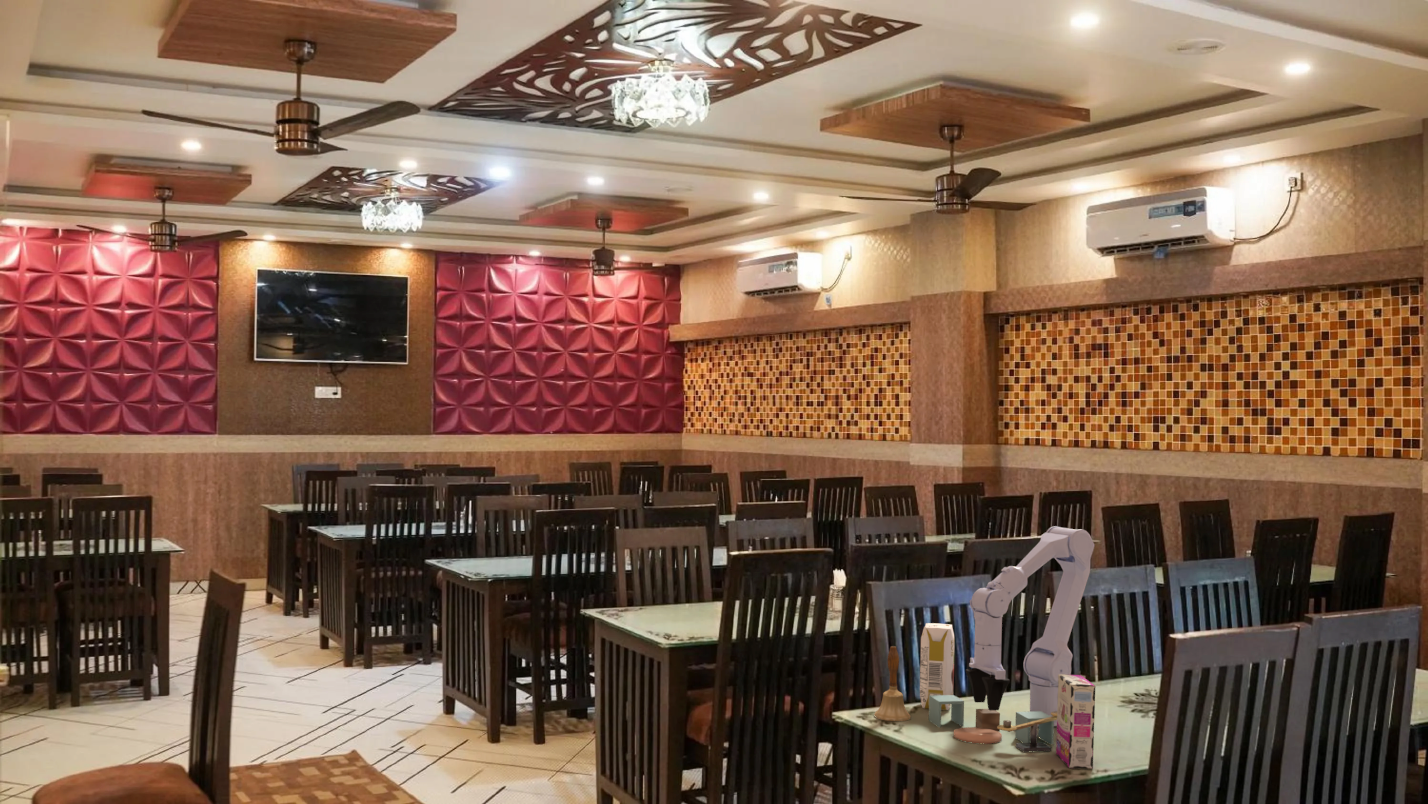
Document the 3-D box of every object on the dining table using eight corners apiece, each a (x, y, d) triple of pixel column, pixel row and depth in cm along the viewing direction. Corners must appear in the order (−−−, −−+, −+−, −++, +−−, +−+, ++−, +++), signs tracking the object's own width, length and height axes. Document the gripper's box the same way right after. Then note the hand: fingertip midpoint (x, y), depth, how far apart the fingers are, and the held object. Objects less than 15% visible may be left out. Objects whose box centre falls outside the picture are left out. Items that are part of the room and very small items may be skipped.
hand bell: (910, 722, 279) (911, 650, 279) (872, 719, 280) (874, 648, 281) (911, 713, 287) (913, 644, 287) (875, 711, 288) (876, 642, 289)
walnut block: (992, 726, 277) (993, 708, 277) (999, 731, 273) (999, 712, 273) (975, 726, 276) (975, 708, 276) (981, 731, 272) (982, 712, 272)
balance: (1064, 745, 262) (1065, 710, 262) (1073, 750, 258) (1074, 715, 258) (993, 747, 258) (994, 712, 259) (1001, 752, 255) (1002, 717, 255)
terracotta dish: (990, 731, 272) (990, 726, 272) (1009, 742, 262) (1009, 738, 262) (946, 732, 270) (946, 727, 270) (964, 744, 260) (964, 739, 260)
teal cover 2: (1040, 737, 268) (1041, 711, 268) (1053, 744, 262) (1053, 717, 262) (1015, 737, 267) (1015, 711, 267) (1027, 745, 261) (1028, 718, 261)
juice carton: (918, 708, 292) (920, 627, 292) (921, 701, 300) (923, 621, 300) (951, 711, 290) (953, 629, 290) (953, 703, 298) (955, 623, 299)
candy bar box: (1094, 769, 243) (1096, 685, 244) (1069, 769, 243) (1070, 684, 244) (1080, 754, 254) (1081, 673, 255) (1055, 753, 255) (1056, 672, 255)
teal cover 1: (953, 719, 282) (953, 694, 282) (963, 726, 276) (964, 700, 276) (928, 720, 281) (929, 695, 281) (938, 726, 275) (939, 701, 275)
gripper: (958, 637, 281) (956, 698, 281) (984, 649, 267) (982, 713, 266) (987, 637, 282) (986, 698, 282) (1015, 649, 268) (1013, 713, 268)
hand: (986, 705), depth 274 cm, fingers open, 7 cm apart
